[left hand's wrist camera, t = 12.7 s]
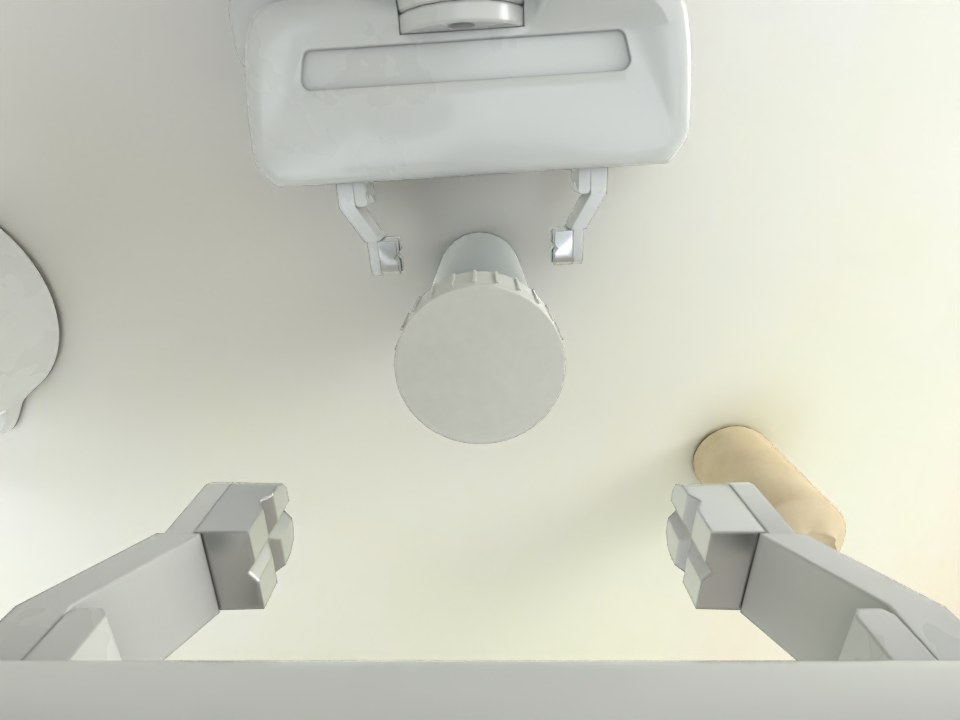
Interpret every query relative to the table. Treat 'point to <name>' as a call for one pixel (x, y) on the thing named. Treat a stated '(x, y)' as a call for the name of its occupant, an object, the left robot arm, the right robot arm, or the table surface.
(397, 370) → the lid
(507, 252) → the jar
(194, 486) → the table surface
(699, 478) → the candle
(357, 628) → the table surface
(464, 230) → the table surface
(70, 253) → the table surface
